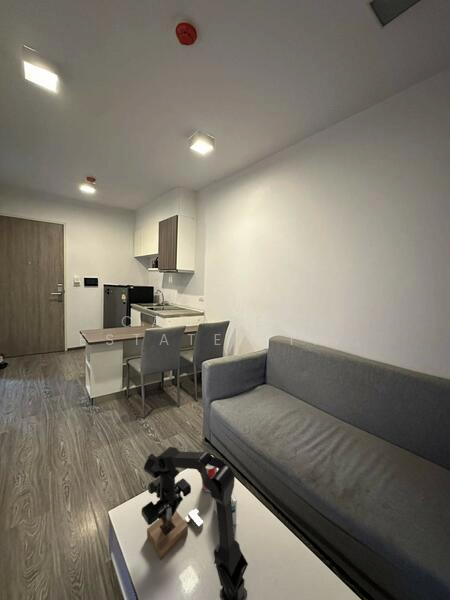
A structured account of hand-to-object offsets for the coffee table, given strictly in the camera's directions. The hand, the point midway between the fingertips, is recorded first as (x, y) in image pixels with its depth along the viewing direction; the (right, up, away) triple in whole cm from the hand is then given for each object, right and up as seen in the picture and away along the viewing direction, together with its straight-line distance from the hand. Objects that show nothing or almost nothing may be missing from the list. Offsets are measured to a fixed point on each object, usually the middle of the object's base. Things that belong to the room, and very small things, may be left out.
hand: (167, 519), depth 90 cm
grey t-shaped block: (+10, -7, +6) cm, 14 cm away
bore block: (0, -7, +1) cm, 7 cm away
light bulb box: (+22, -7, +9) cm, 25 cm away
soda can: (+15, -6, +22) cm, 27 cm away
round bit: (0, -2, 0) cm, 2 cm away
